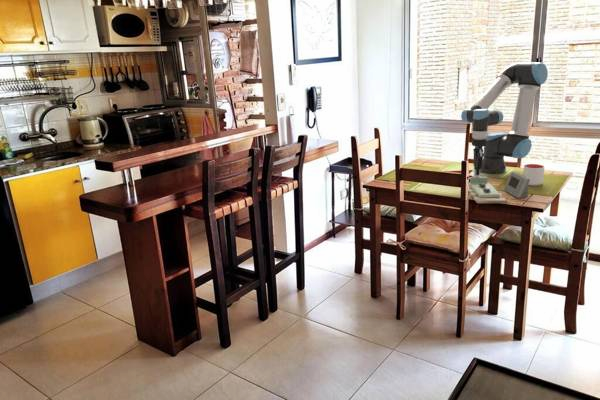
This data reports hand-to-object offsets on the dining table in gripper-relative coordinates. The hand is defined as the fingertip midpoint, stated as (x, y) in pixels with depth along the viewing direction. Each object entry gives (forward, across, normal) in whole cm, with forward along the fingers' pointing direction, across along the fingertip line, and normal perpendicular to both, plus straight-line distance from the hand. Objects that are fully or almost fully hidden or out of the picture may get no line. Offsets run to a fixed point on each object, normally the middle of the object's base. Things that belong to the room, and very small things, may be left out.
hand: (476, 180), depth 253 cm
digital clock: (+4, +17, +16) cm, 23 cm away
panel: (+2, +14, 0) cm, 15 cm away
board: (+3, +16, 0) cm, 17 cm away
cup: (+3, -2, +30) cm, 30 cm away
